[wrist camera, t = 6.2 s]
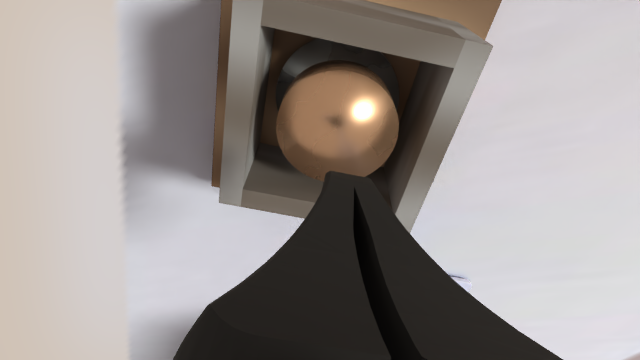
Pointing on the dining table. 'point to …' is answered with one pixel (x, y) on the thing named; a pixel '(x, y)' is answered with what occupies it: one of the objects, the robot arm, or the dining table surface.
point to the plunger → (337, 109)
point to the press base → (361, 31)
